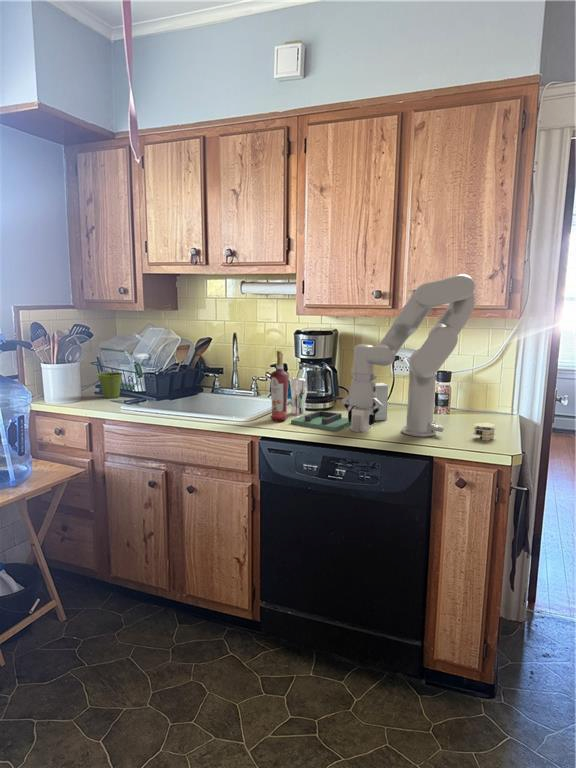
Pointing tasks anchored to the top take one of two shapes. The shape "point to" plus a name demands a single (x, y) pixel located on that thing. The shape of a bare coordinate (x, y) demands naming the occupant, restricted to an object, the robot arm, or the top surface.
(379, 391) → the skincare box
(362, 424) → the keyed plug
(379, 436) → the top surface
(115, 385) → the plant pot
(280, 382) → the liquor
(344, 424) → the socket board
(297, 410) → the beer glass
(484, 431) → the stacked layers on plate
